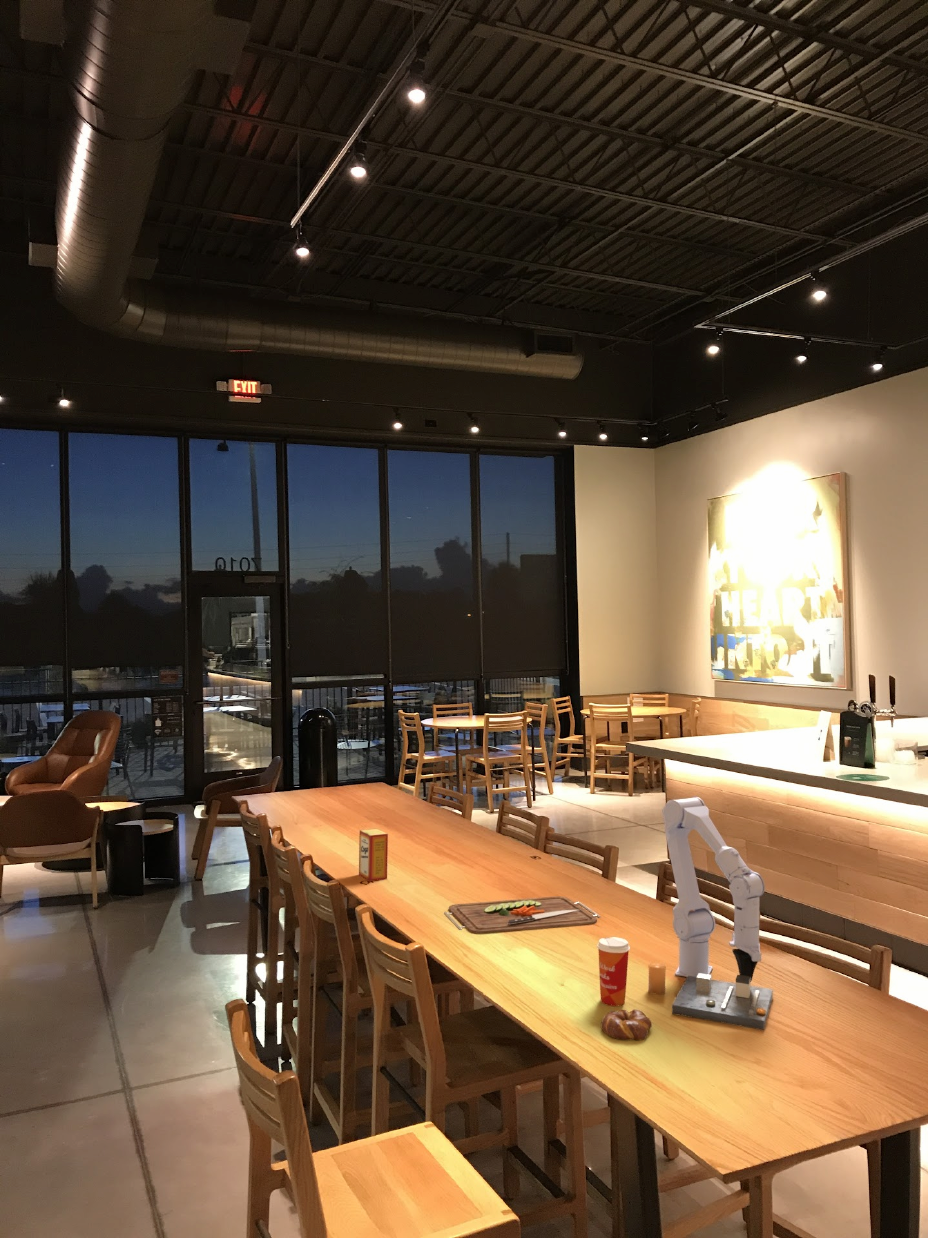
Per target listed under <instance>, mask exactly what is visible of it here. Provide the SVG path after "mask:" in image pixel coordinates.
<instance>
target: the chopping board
mask: <svg viewBox="0 0 928 1238" xmlns="http://www.w3.org/2000/svg"><path fill="white" fill-rule="evenodd" d="M448 911H449V912H446V911H444V912H443V914H444V915H445V916H446V917H447V918H448V919H449V920H450V921H451V922H452V923H453V924H454V925H455V926H456V928H457V929H459V931H460V930H461V931H462V930H463V929H466V930H467V931H468V932H470V933H472V934H478V935H481V934H482V935H483V934H484V935H485V934H495V933H496V934H497V933H508V932H522V931H529V930H530V931H531V930H541V929H552V928H565V927H576V926H588V925H595V924H597V923H598V919H600V918H601V917H602V916H601V915H600V914H598V913H597V912H595V911H594V910H593V909H591V908H589V907H588V906H587V905H586V904H583V903H582V902H580V901H579V900H577V901H576V902H575V901H573V900H572V899H570V898H568V897H565V896H545V897H544V896H543V897H532V898H531V897H530V898H522V899H521V898H518V899H508V900H507V899H506V900H494V901H482V902H469V903H457V904H456V903H455V904H451V905H449V907H448ZM451 915H453V916H454V917H455V918H456V919H457V921H459V923H460V924H461V925H462V926H461V925H460V924H458V923H457V921H455V919H454V918H453V917H452V916H451Z"/></svg>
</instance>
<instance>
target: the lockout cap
mask: <svg viewBox="0 0 928 1238" xmlns="http://www.w3.org/2000/svg"><path fill="white" fill-rule="evenodd" d="M647 985H648V987H647V988H648V989H647V990H648V992H649V993H651V994H654V995H664V994H665V993H666V965H665V964H662V963H659V962H658V963H657V962H656V963H655V962H654V963H653V962H652V963H650V964H648V984H647Z"/></svg>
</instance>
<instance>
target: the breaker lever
mask: <svg viewBox="0 0 928 1238" xmlns="http://www.w3.org/2000/svg"><path fill="white" fill-rule="evenodd" d="M751 982H752V981H751V977H750V976H743V975H740V974H736V977H735V983H736V996H738V997H744V998H749V996H750V986H751V984H752V983H751Z"/></svg>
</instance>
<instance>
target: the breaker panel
mask: <svg viewBox="0 0 928 1238" xmlns="http://www.w3.org/2000/svg"><path fill="white" fill-rule="evenodd" d="M773 992H774V989H773V988H769V987H768V988H767V987H762V986H761V987H760V986H755V985H750V996H749V998H744V997H738V996H736V982H730V981H723V980H717V979H713V978H712V974H710V975H708V974H701V973H698V975H697V977H693V976H687V977H686V978H685V980H684V982H683V984H682V986H681V988H680V990H679V992H678V993H677V995H676V997H675V999H674V1001H673V1002H672V1004H671V1006H672V1007H671V1014H672V1015H676V1016H677V1015H678V1016H684V1017H689V1018H695V1019H698V1020H704V1021H705V1020H706V1021H711V1022H715V1023H716V1022H717V1023H723V1024H728V1025H733V1026H740V1027H745V1028H750V1029H757V1030H760V1031H764V1030H765V1027H766V1024H767V1020H768V1016H769V1013H770V1008H771V1005H772V1002H773V997H774V995H773Z"/></svg>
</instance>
